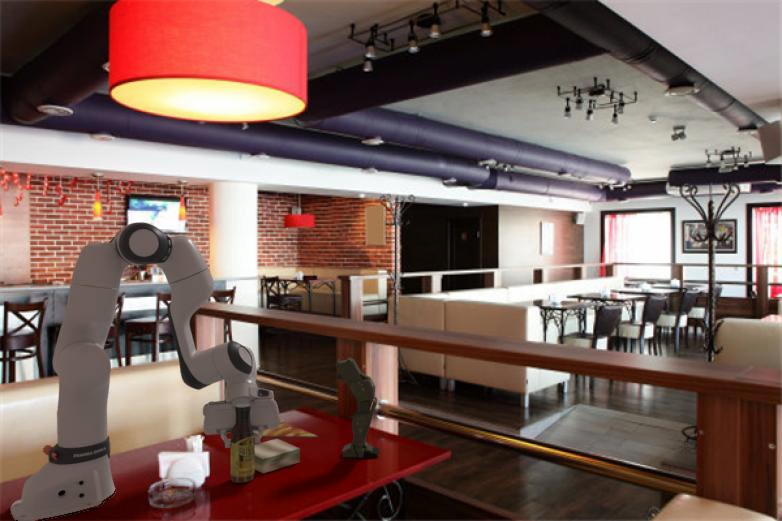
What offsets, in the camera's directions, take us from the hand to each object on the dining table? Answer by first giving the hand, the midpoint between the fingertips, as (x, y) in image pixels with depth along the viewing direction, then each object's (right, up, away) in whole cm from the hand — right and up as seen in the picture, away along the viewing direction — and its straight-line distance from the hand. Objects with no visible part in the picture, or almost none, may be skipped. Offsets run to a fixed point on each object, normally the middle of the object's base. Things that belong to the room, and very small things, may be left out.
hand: (242, 445), depth 154 cm
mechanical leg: (+30, -9, +19) cm, 36 cm away
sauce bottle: (0, -10, +1) cm, 10 cm away
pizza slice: (+2, -9, +38) cm, 39 cm away
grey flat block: (+5, -9, +13) cm, 17 cm away
